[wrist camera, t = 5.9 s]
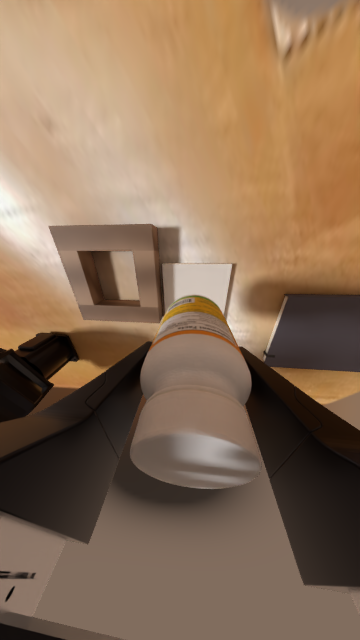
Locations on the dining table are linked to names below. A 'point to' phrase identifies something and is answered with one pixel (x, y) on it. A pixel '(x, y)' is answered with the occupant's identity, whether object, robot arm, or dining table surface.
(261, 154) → the dining table surface
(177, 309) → the supplement bottle
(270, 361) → the notebook
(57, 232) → the block
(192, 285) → the coaster
